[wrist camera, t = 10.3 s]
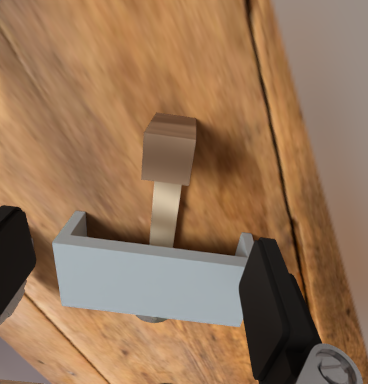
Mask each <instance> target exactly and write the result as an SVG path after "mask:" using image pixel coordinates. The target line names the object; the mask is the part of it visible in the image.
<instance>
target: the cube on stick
mask: <svg viewBox="0 0 368 384" xmlns="http://www.w3.org/2000/svg"><path fill="white" fill-rule="evenodd" d="M195 144H196V118H190V117H183V116H176V115H169V114H162V113H156V114H155V116H154V117H153V119H152V120H151V122H150V124H149V125H148V127H147V129H146V130H145V132H144V141H143V159H142V177H141V180H149V181H155V182H154V194H153V206H152V218H151V230H150V241H149V245H152V246H160V247H168V248H173V242H174V235H175V228H176V221H177V214H178V207H179V200H180V193H181V186H182V185H186V186H189V182H190V176H191V170H192V163H193V157H194V151H195Z"/></svg>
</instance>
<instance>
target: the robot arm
mask: <svg viewBox="0 0 368 384" xmlns="http://www.w3.org/2000/svg"><path fill="white" fill-rule="evenodd" d="M35 264H36V256H35V252H34V247H33V243H32V239H31V235H30V231H29V226H28V222H27V218H26V214H25V212H23V211H22V210H21V208H19V207H14V206H6V205H3V206H1V207H0V316H1V315H2V313H3V312H4V310H5V309H6V307H7V306H8V305H9V303H10V302H11V300H12V299H13V297H14V296H15V294H16V293H17V292H18V290H19V289H20V287H21V286H22V284H23V283H24V282H25V280H26V279H27V277H28V276H29V274H30V273H31V271H32V270H33V269H34V267H35ZM239 296H240V302H241V308H242V314H243V320H244V326H245V331H246V337H247V343H248V349H249V355H250V361H251V367H252V372H253V377H254V379H255V380H258V381H259V384H363V381H362V377H361V374H360V372H359V370H358V368H357V366H356V365H355V363H354V362H353V361H352V360H351V359H350V357H349V356H347V355H346V354H345V353H344V352H343V351H341V350H340V349H338V348H336V347H335V346H332V345H329V344H322V341H321V339H320V337H319V334H318V332H317V329H316V327H315V325H314V322H313V320H312V317H311V315H310V312H309V310H308V308H307V305H306V303H305V300H304V298H303V296H302V293H301V291H300V288H299V286H298V284H297V281H296V279H295V277H294V276H293V275H292V274H289V272H288V270H287V267H286V265H285V262H284V260H283V257H282V255H281V252H280V250H279V247H278V245H277V242H276V240H275V239H270V238H262V237H261V238H259V240H258V241H257V240H255V241H254V244H253V246H252V249H251V252H250V255H249V257H248V260H247V263H246V266H245V268H244V271H243V274H242V277H241V280H240V282H239ZM0 384H41V383H32V382H21V381H11V380H1V379H0Z"/></svg>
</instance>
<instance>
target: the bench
mask: <svg viewBox="0 0 368 384" xmlns="http://www.w3.org/2000/svg"><path fill="white" fill-rule="evenodd" d="M253 244H254V241H253V238H252V234H251V233H243V232H242V233H241V237H240V240H239V243H238V247H237V250H236V253H235V256H231V255H223V254H215V253H207V252H199V251H191V250H184V249H176V248H168V247H160V246H152V245H144V244H137V243H129V242H121V241H113V240H105V239H97V238H90V237H87V227H86V212H82V211H75V212H74V214H73V215H72V216H71V218H70V219H69V220H68V222H67V223H66V225H65V226H64V227H63V229H62V230H61V231H60V233H59V234H58V235H57V237H56V238H55V239H54V241H53V242H52V246H53V252H54V259H55V265H56V271H57V278H58V284H59V291H60V297H61V303H62V306H68V307H76V308H85V309H93V310H102V311H110V312H118V313H127V314H135V315H143V316H152V317H160V318H168V319H177V320H185V321H194V322H202V323H210V324H219V325H227V326H235V327H240V325H241V322H242V320H243V314H242V308H241V302H240V296H239V282H240V280H241V277H242V274H243V271H244V268H245V266H246V263H247V260H248V257H249V255H250V252H251V249H252V246H253Z"/></svg>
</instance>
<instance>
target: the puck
mask: <svg viewBox="0 0 368 384" xmlns="http://www.w3.org/2000/svg"><path fill="white" fill-rule="evenodd" d="M136 316H137V317H138V318H139V319H141V320H143V321H146V322H150V323H158V322H163V321H165V320H167V319H168V318H160V317H152V316H143V315H136Z"/></svg>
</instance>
